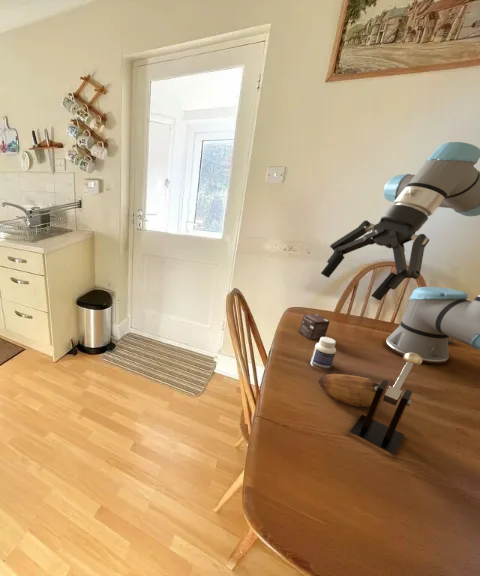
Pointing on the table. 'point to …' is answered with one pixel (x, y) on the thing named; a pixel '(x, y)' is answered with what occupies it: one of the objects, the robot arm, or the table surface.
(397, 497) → the table surface
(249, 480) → the table surface
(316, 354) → the pill bottle
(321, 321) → the box
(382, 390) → the black lever stand
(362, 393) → the potato
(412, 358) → the hinged lever
